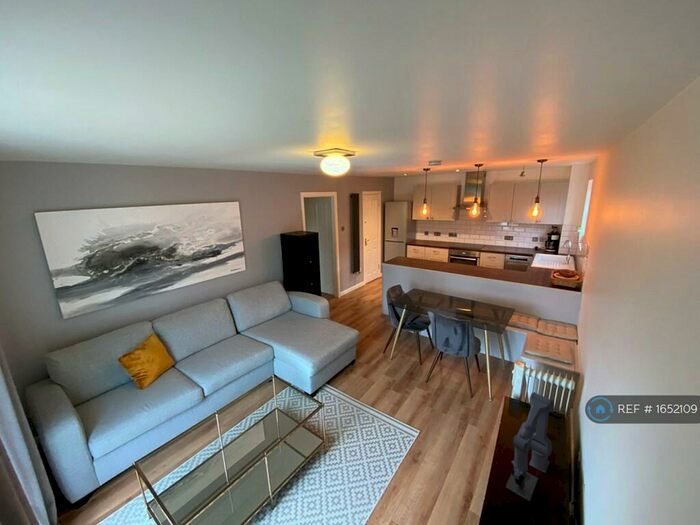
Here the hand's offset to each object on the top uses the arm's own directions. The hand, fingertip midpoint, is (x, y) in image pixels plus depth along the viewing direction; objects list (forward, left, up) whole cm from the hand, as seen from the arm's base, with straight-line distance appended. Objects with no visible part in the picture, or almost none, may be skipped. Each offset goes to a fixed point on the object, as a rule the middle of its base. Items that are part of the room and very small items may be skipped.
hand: (520, 480), depth 149 cm
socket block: (-4, 0, -6) cm, 7 cm away
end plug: (0, 0, -3) cm, 3 cm away
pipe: (-48, -4, -6) cm, 48 cm away
